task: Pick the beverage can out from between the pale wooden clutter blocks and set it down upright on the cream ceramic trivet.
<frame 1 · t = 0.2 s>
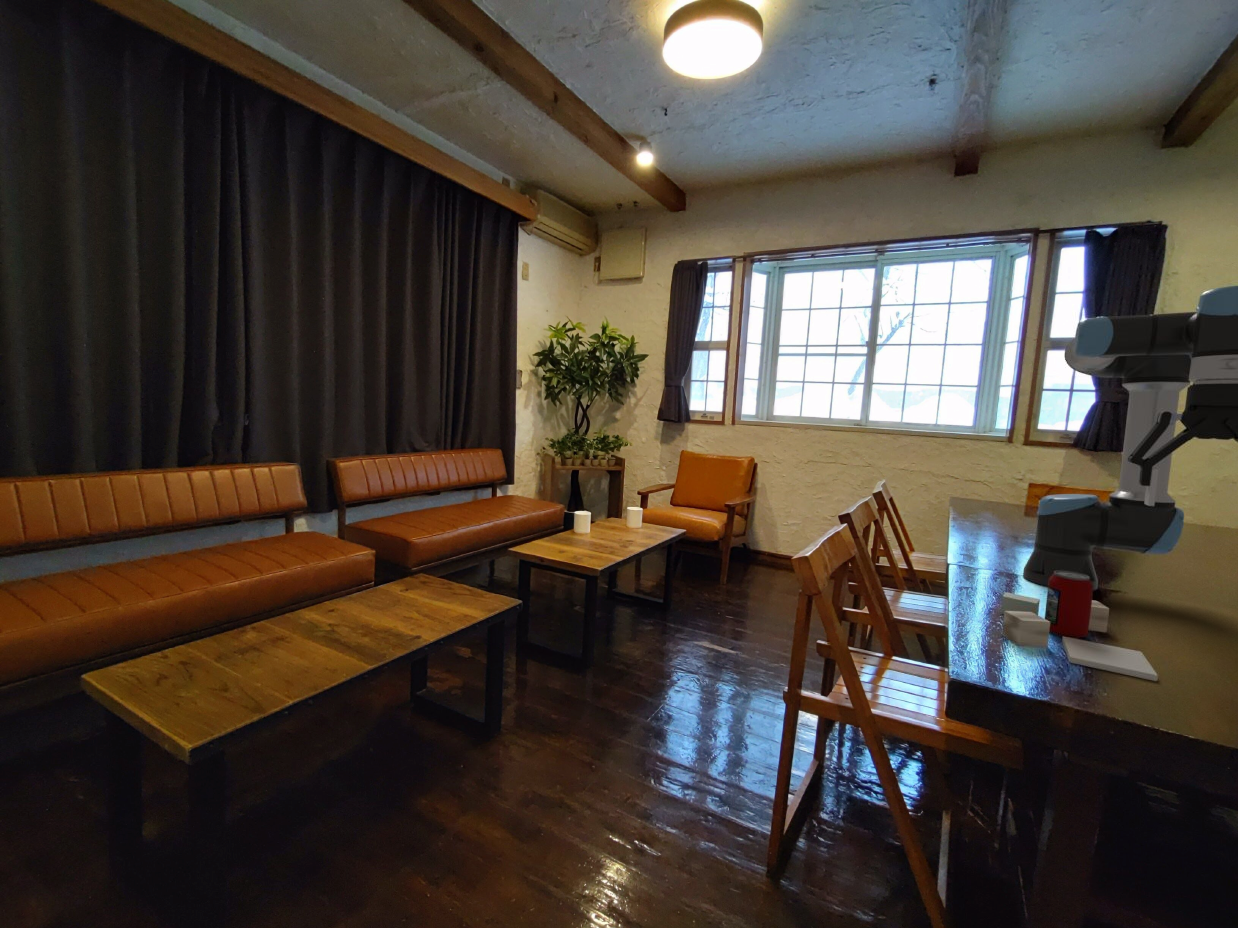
hand: (1204, 509, 92), 27 cm above the table, fingers open, 13 cm apart
maple block: (1024, 641, 103), on the table
trivet: (1105, 659, 95), on the table
beverage can: (1064, 634, 107), on the table
beech block: (1085, 626, 111), on the table
sage block: (1019, 615, 117), on the table
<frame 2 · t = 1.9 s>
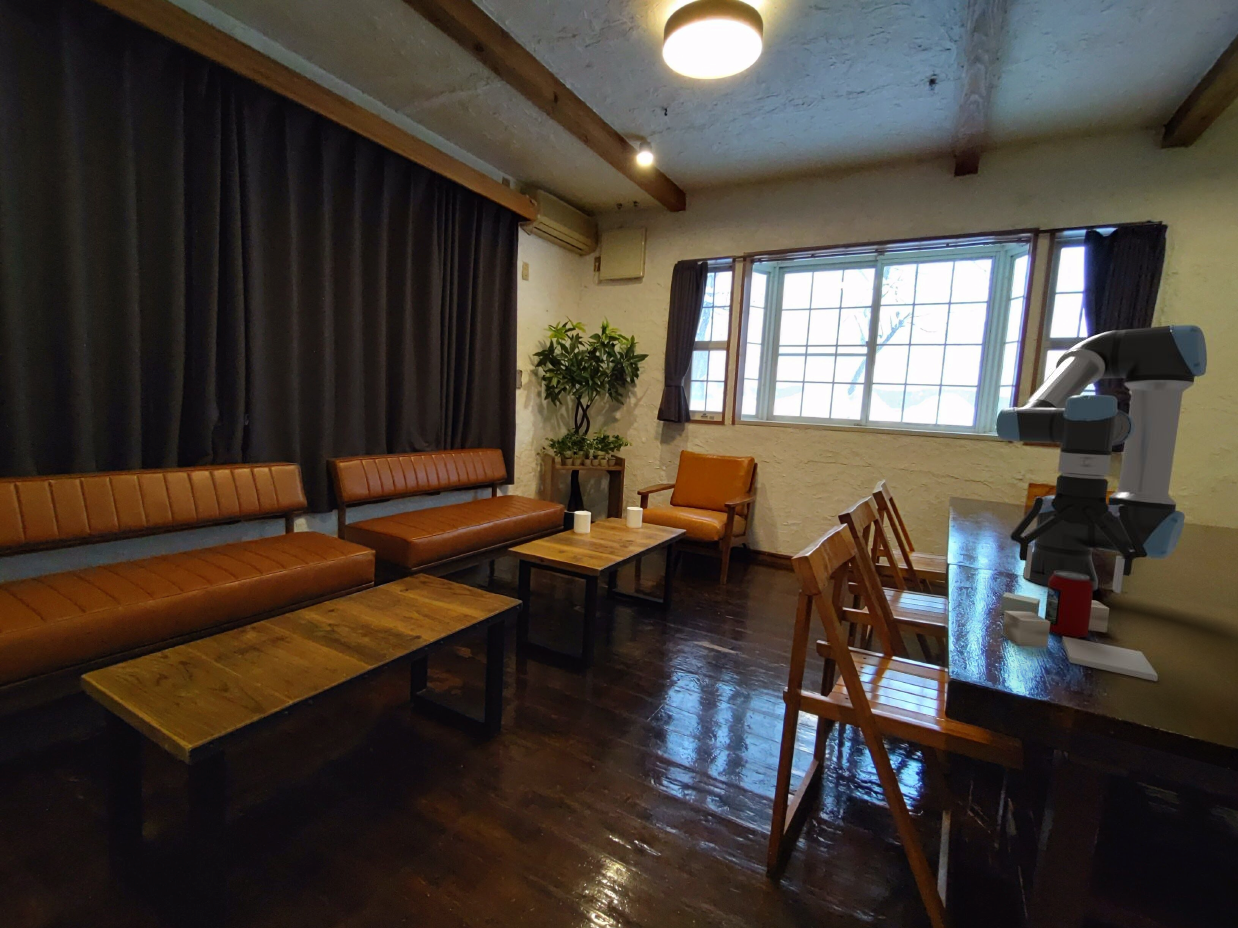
hand: (1069, 584, 106), 10 cm above the table, fingers open, 13 cm apart
nothing on the table moved.
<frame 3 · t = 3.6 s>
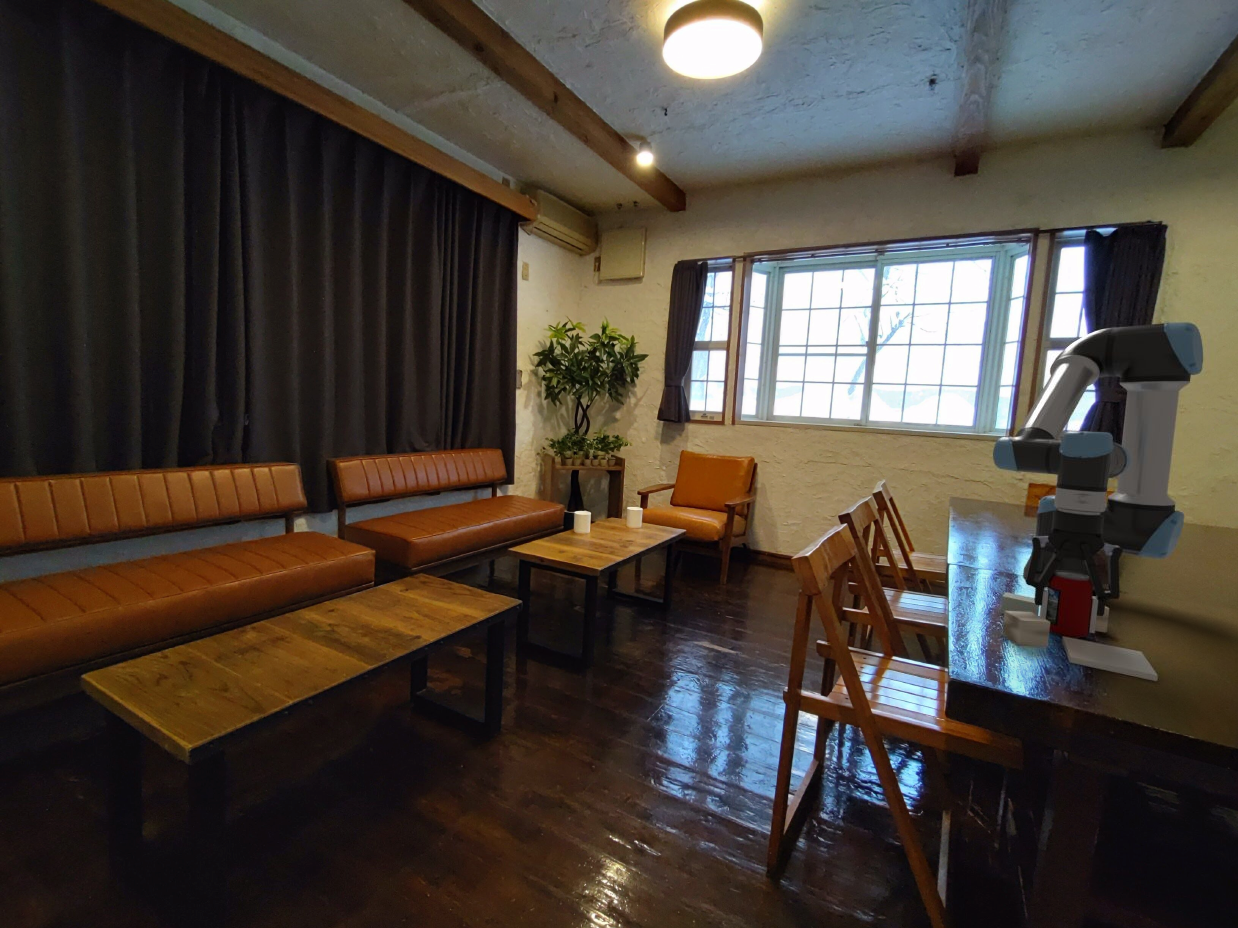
hand: (1065, 625, 107), 2 cm above the table, fingers closed on beverage can, 7 cm apart
beverage can: (1064, 634, 107), on the table, touching gripper
everything else where it was.
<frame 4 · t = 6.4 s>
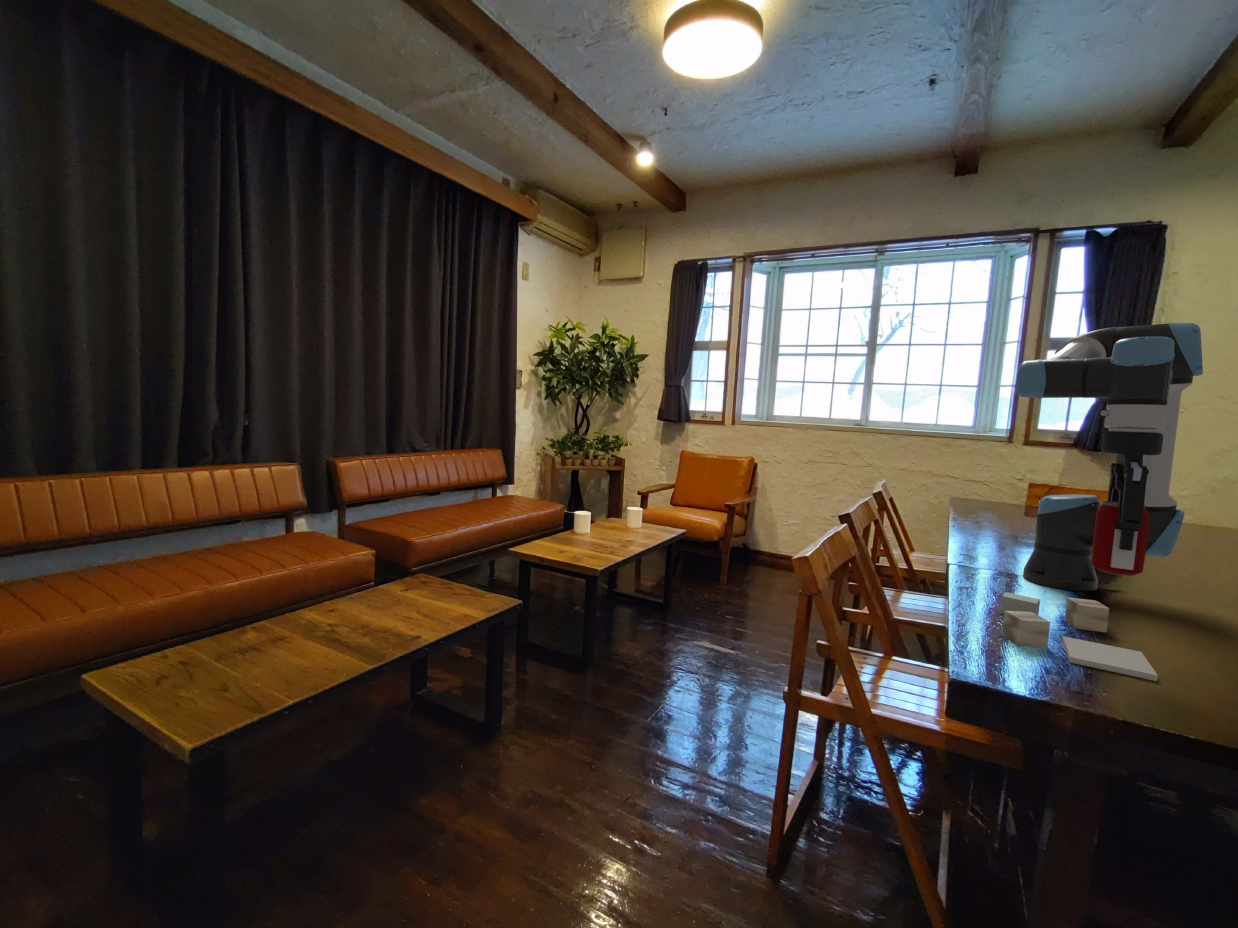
hand: (1117, 563, 94), 17 cm above the table, fingers closed on beverage can, 7 cm apart
beverage can: (1115, 572, 94), point 16 cm above the table, touching gripper
everything else where it was.
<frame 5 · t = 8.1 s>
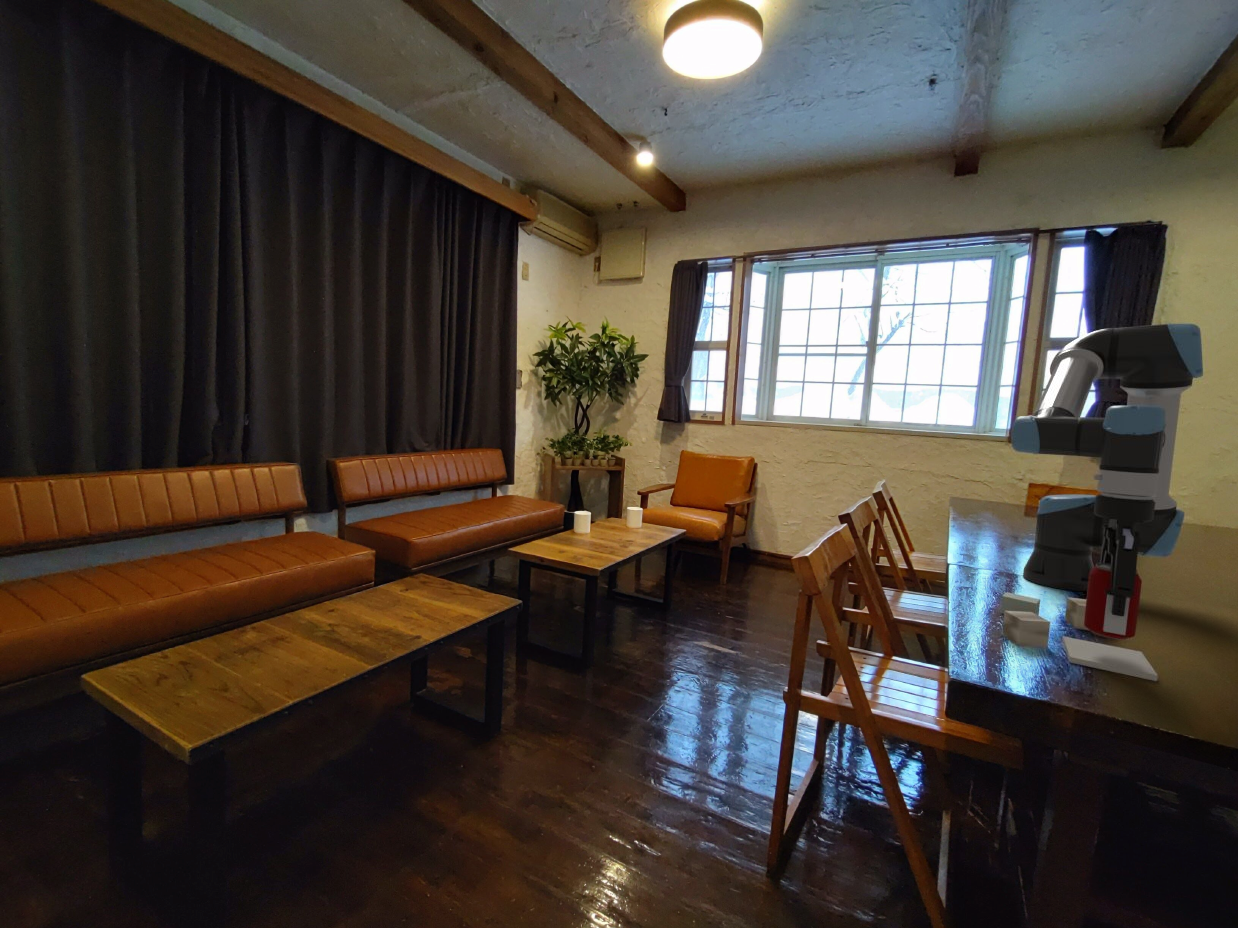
hand: (1109, 625, 95), 6 cm above the table, fingers closed on beverage can, 7 cm apart
beverage can: (1108, 634, 95), point 4 cm above the table, touching gripper
everything else where it was.
when the fingers open (4 cm above the table, at t = 9.3 s): beverage can drops 2 cm, resting on trivet.
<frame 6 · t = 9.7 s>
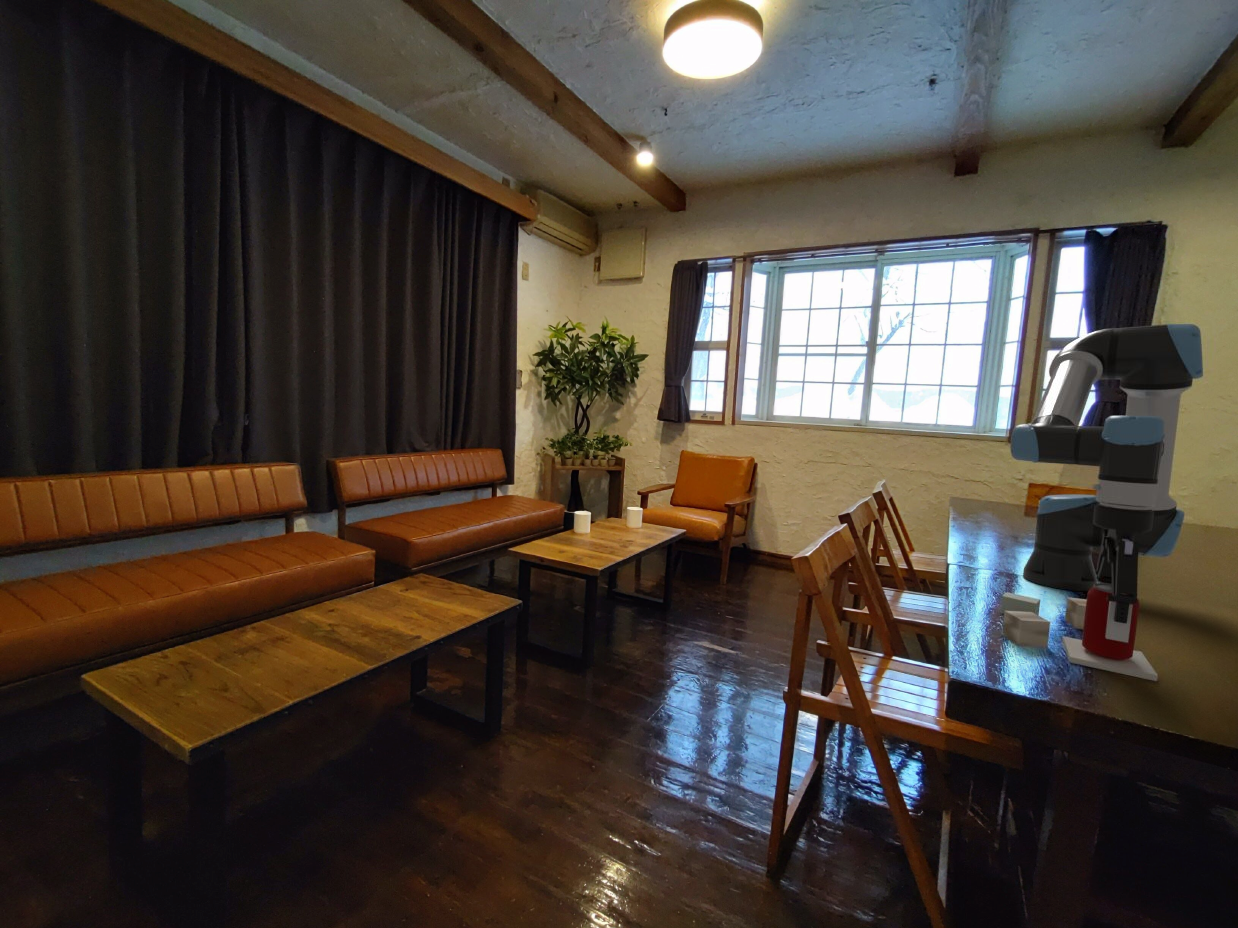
hand: (1109, 628, 95), 6 cm above the table, fingers open, 11 cm apart
beverage can: (1105, 655, 95), point 1 cm above the table, touching trivet
everything else where it was.
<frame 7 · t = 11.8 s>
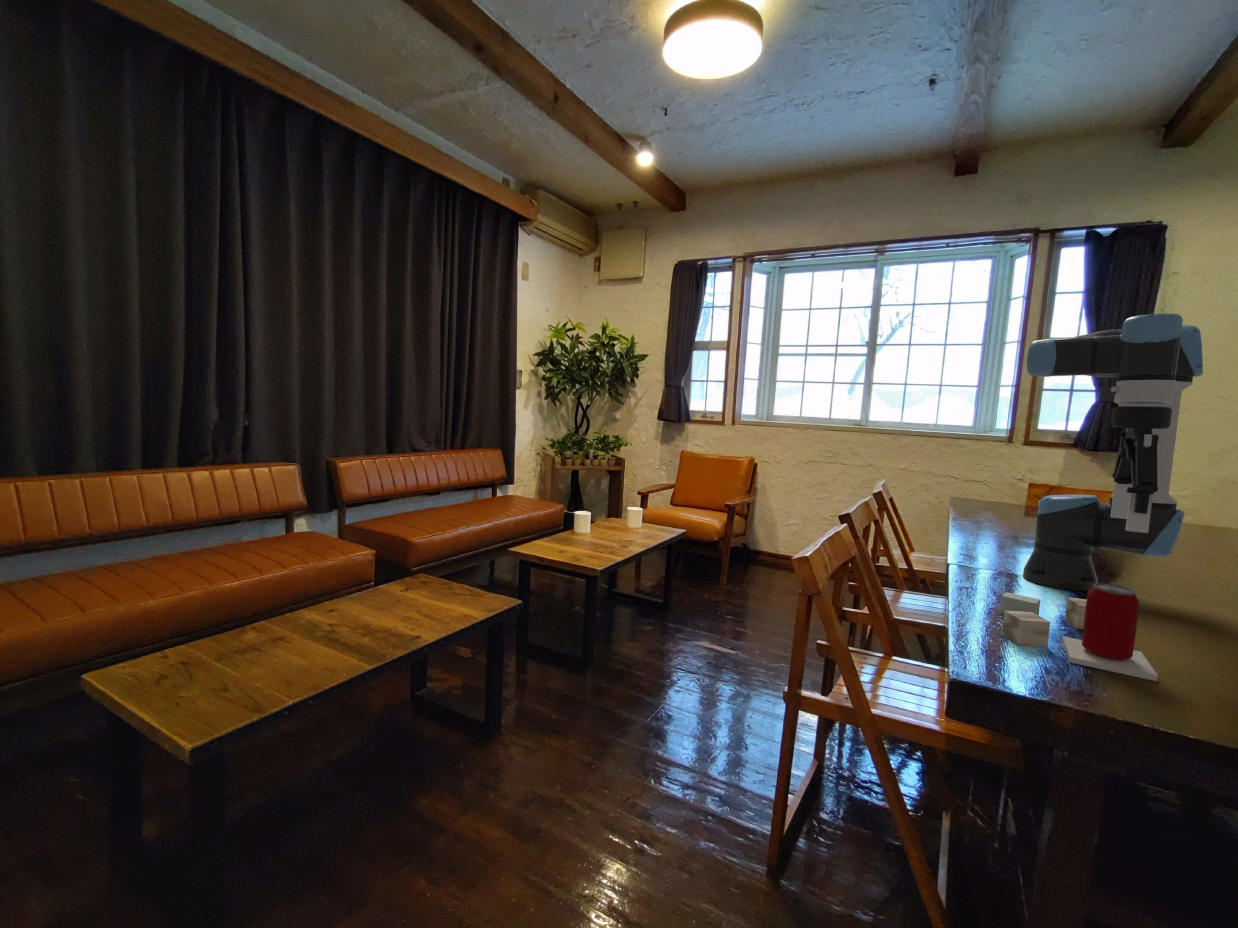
hand: (1128, 524, 97), 24 cm above the table, fingers open, 13 cm apart
nothing on the table moved.
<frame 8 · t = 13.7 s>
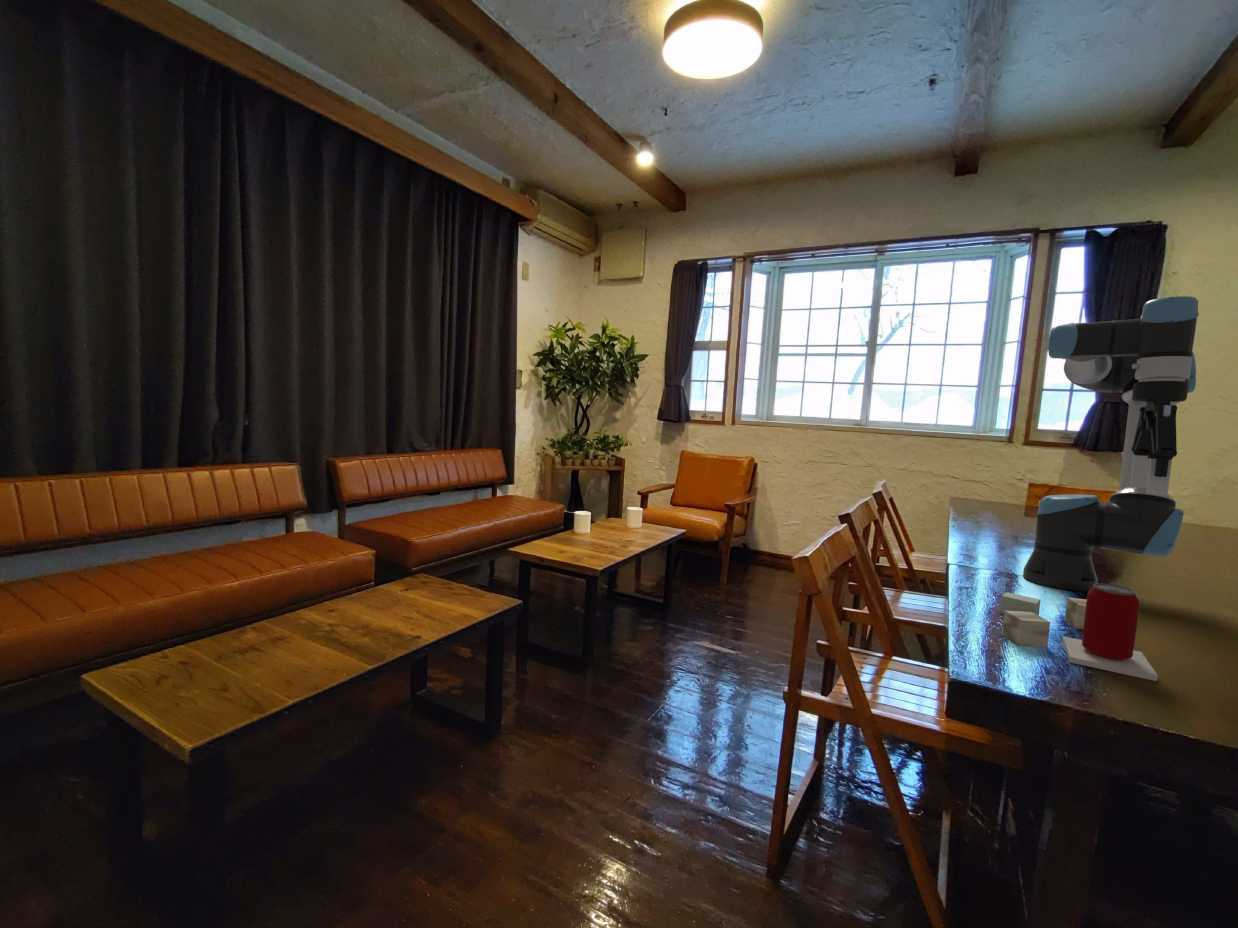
hand: (1147, 490, 106), 29 cm above the table, fingers open, 13 cm apart
nothing on the table moved.
at the end: beverage can inside the target area on the trivet (0.1 cm from its centre), point 0.8 cm above the trivet's base; beverage can tilted 0°; the gripper is holding nothing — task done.
